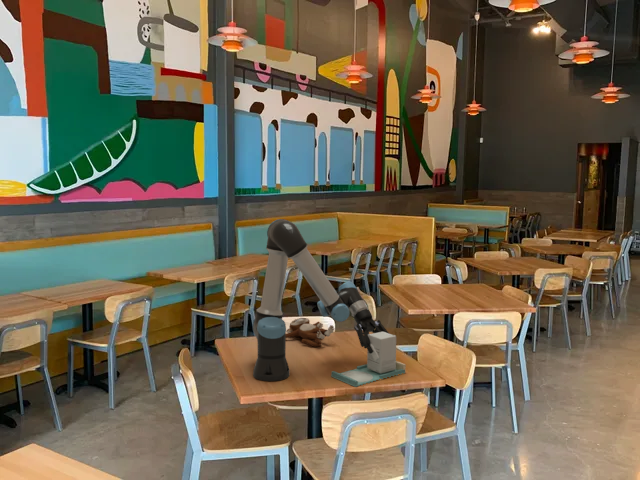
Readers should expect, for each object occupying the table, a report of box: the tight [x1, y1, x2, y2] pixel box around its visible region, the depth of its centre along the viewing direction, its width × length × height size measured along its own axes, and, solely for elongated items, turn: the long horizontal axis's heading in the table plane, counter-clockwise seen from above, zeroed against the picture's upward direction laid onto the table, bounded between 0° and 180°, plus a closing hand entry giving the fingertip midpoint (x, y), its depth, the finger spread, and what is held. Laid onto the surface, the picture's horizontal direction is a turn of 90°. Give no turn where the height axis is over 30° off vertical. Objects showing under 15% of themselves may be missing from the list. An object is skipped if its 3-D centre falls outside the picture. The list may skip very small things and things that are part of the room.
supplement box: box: [366, 332, 397, 374], centre depth 243 cm, size 9×9×15 cm
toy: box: [286, 317, 335, 348], centre depth 290 cm, size 22×10×30 cm
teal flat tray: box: [330, 360, 407, 388], centre depth 240 cm, size 28×15×4 cm, turn 128°
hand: (385, 357), depth 241 cm, fingers closed on supplement box, 9 cm apart
